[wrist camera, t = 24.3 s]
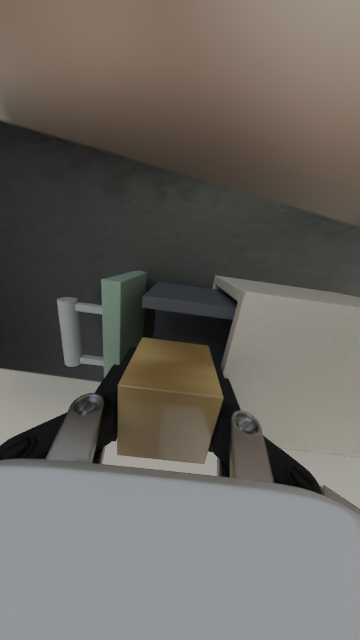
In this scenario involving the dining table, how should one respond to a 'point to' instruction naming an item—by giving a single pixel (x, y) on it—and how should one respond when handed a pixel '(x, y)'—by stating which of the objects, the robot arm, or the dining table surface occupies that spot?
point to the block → (168, 402)
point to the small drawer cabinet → (296, 364)
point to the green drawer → (128, 318)
